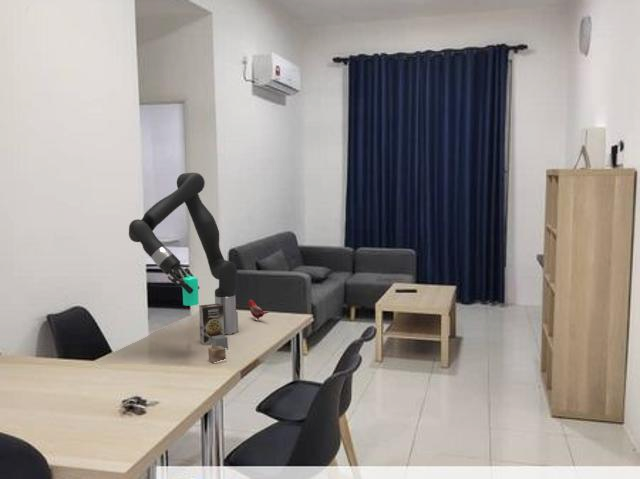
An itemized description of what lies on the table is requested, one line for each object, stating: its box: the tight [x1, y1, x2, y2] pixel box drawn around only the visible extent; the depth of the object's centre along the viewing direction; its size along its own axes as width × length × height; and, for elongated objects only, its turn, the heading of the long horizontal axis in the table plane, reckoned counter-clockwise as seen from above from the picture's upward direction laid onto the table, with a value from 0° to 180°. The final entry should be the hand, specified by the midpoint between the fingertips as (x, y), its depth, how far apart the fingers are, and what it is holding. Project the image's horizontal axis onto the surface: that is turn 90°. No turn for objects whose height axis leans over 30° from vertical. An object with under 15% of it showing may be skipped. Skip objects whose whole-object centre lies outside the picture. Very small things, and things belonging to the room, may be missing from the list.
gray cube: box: [211, 335, 229, 349], centre depth 236 cm, size 5×5×5 cm
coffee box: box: [198, 303, 225, 346], centre depth 245 cm, size 9×6×16 cm
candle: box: [182, 276, 199, 307], centre depth 225 cm, size 6×6×12 cm
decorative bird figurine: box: [248, 299, 269, 320], centre depth 280 cm, size 3×18×10 cm, turn 40°
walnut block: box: [207, 346, 227, 364], centre depth 219 cm, size 5×5×5 cm
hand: (194, 290), depth 225 cm, fingers closed on candle, 4 cm apart
